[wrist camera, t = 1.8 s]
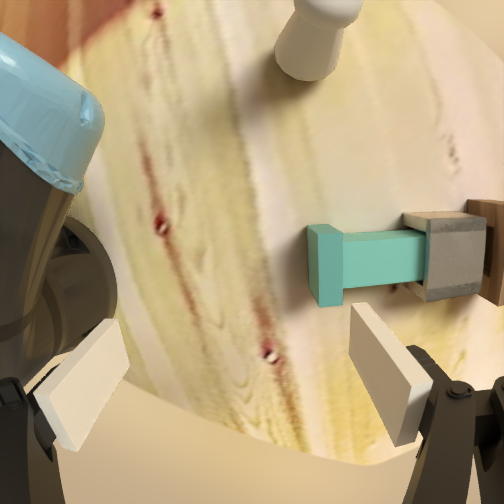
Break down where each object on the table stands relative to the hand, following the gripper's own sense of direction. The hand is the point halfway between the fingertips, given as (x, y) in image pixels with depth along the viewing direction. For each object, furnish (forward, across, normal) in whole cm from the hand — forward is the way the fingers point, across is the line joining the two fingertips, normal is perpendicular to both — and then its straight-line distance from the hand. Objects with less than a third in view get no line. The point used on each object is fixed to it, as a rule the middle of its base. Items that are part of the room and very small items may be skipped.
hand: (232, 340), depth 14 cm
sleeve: (+16, +20, 0) cm, 25 cm away
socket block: (+16, +27, 0) cm, 31 cm away
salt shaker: (+16, +7, +19) cm, 26 cm away
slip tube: (+16, +13, 0) cm, 20 cm away
